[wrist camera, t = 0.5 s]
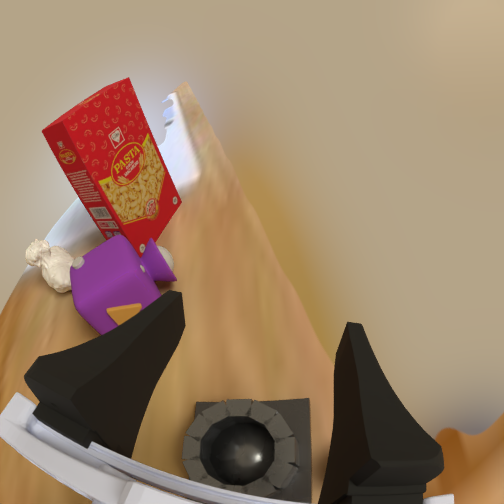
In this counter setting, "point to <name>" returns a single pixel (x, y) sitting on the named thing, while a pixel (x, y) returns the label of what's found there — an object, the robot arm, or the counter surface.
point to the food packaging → (115, 165)
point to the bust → (51, 264)
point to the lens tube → (252, 448)
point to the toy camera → (118, 281)
